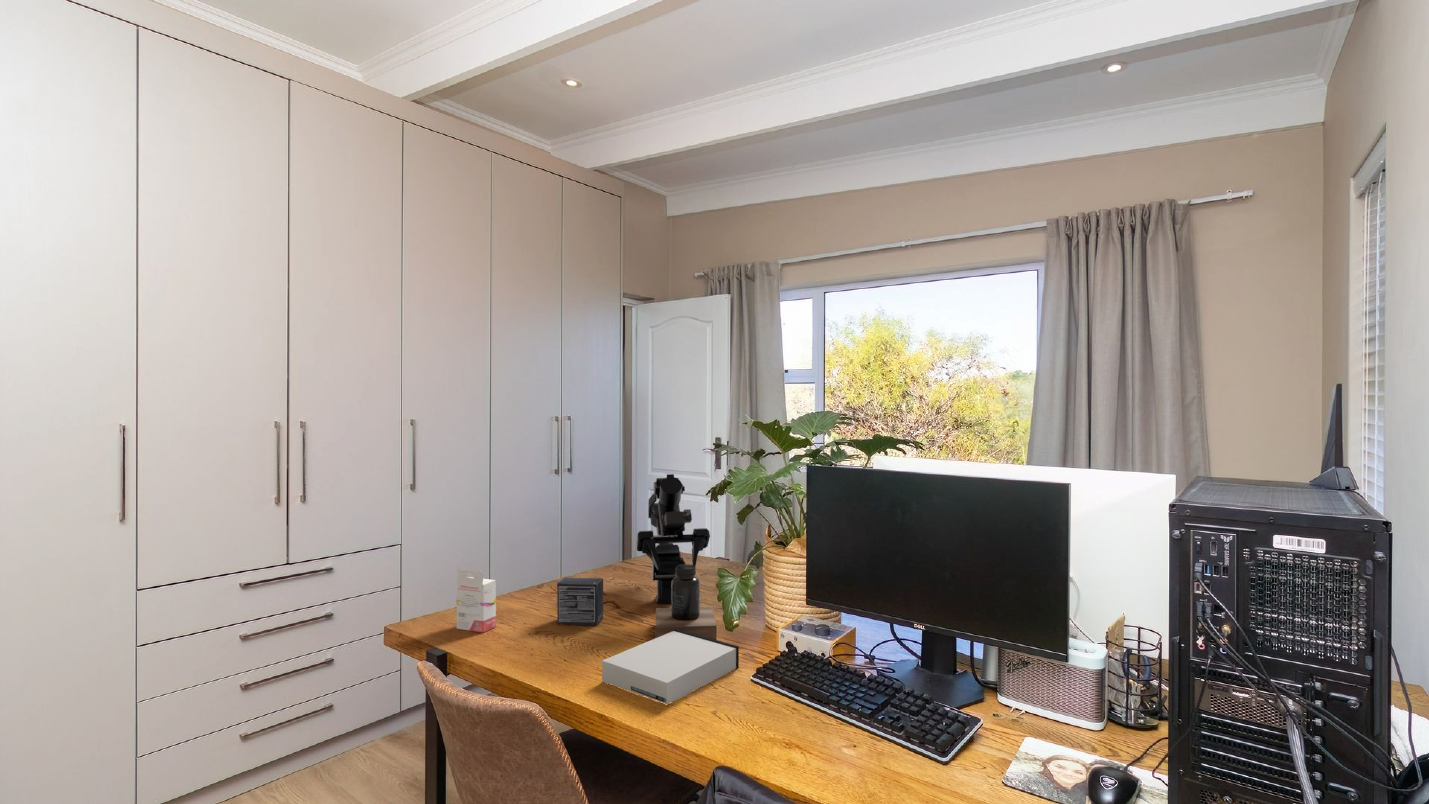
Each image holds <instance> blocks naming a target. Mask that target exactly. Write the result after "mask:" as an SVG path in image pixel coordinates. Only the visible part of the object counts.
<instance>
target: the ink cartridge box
mask: <svg viewBox="0 0 1429 804" xmlns="http://www.w3.org/2000/svg"><path fill="white" fill-rule="evenodd" d="M456 575H457V576H456V582H455V583H456V629H457V630H463V631H469V632H470V631H471V632H476V633H486V632H488V631H490V630H492V629H494V628H497V593H496V592H497V583H496V581H497V580H496V579H488V578H484V572H483V571H480V570H479V571H478V570H473V569H463V568H458V569H457V574H456ZM468 575H471V576H468ZM472 576H473V577H472Z"/></svg>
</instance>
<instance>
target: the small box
mask: <svg viewBox="0 0 1429 804" xmlns="http://www.w3.org/2000/svg"><path fill="white" fill-rule="evenodd" d="M556 588H557V590H556V591H557V592H556V595H557V597H556V598H557V600H556V601H557V607H556V608H557V609H556V613H557V619H556V621H557V622H556V625H557V624H564V625H563V626H565V624H567V625H566V626H591V625H595V626H599V624H600V623H601V621H602V620H603V619H604V617H605V616H604V604H603V602H604V595H603V592H604V578H603V577H601V578H599V577H597V578H596V577H595V578H593V577H564V578H562V579H561V580H560V581H558V582H557V583H556ZM568 624H570V625H568ZM571 624H572V625H571ZM575 624H576V625H575ZM595 626H594V627H595Z"/></svg>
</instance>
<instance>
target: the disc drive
mask: <svg viewBox="0 0 1429 804" xmlns="http://www.w3.org/2000/svg"><path fill="white" fill-rule="evenodd" d="M739 649H740V648H739V646H738V645H735V644H731V643H728V642H723V641H721V640H718V639H717V640H714V639H710V638H706V637H703V636H699V635H696V634H692V633H688V632H685V631H681V630H677V629H673V631H672V632H670V633H667V634H665V635H663V636H660V637H658V638H656V637H655V638H653V639H651V640H648V641H646V642H644V643H641V644H639V645H637V646H634V647H631V648H629V649H627V650H624V651H622V652H619V653H617V654H615V655H612V656H610V657H607V658H605V659H603V660H601V661H602V662H601V663H602V664H601V669H602V670H601V678H602V679H601V682H602V683H603V682H605V683H604V684H606V683H608V684H612V685H614V686H616V687H620V688H622V689H625V690H629V691H631V692H633V693H637V694H639V695H641V696H646V697H648V698H650V699H654V700H657V701H659V702H663V703H665V704H669V703H670V702H673V701H675V700H677V699H679V698H681V697H683V696H684V697H686V696H688V695H689V694H688V693H690V694H692V693H693V692H692V691H693V690H695V691H697V690H699V689H701V688H703V687H705V686H706V685H705V684H707V685H708V684H710V683H712V682H714V681H716V680H717V679H719V678H721V677H723V676H725V675H726V674H729V673H730V672H733V671H734V670H735V669H737V670H738V669H739V668H740V666H739V665H740V664H739V662H740V659H739V658H740V657H739V655H740V652H739V651H740V650H739ZM715 679H716V680H715ZM608 684H607V685H608ZM704 685H705V686H704ZM614 686H613V687H614ZM702 686H703V687H702ZM616 687H615V688H616ZM700 687H701V688H700ZM698 688H699V689H698ZM622 689H621V690H622ZM696 689H697V690H696ZM625 690H624V691H625ZM691 692H692V693H691ZM633 693H632V694H633ZM687 694H688V695H687ZM641 696H640V697H641ZM684 697H683V698H684ZM681 699H682V698H681ZM679 700H680V699H679ZM677 701H678V700H677ZM675 702H676V701H675ZM673 703H674V702H673Z"/></svg>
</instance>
